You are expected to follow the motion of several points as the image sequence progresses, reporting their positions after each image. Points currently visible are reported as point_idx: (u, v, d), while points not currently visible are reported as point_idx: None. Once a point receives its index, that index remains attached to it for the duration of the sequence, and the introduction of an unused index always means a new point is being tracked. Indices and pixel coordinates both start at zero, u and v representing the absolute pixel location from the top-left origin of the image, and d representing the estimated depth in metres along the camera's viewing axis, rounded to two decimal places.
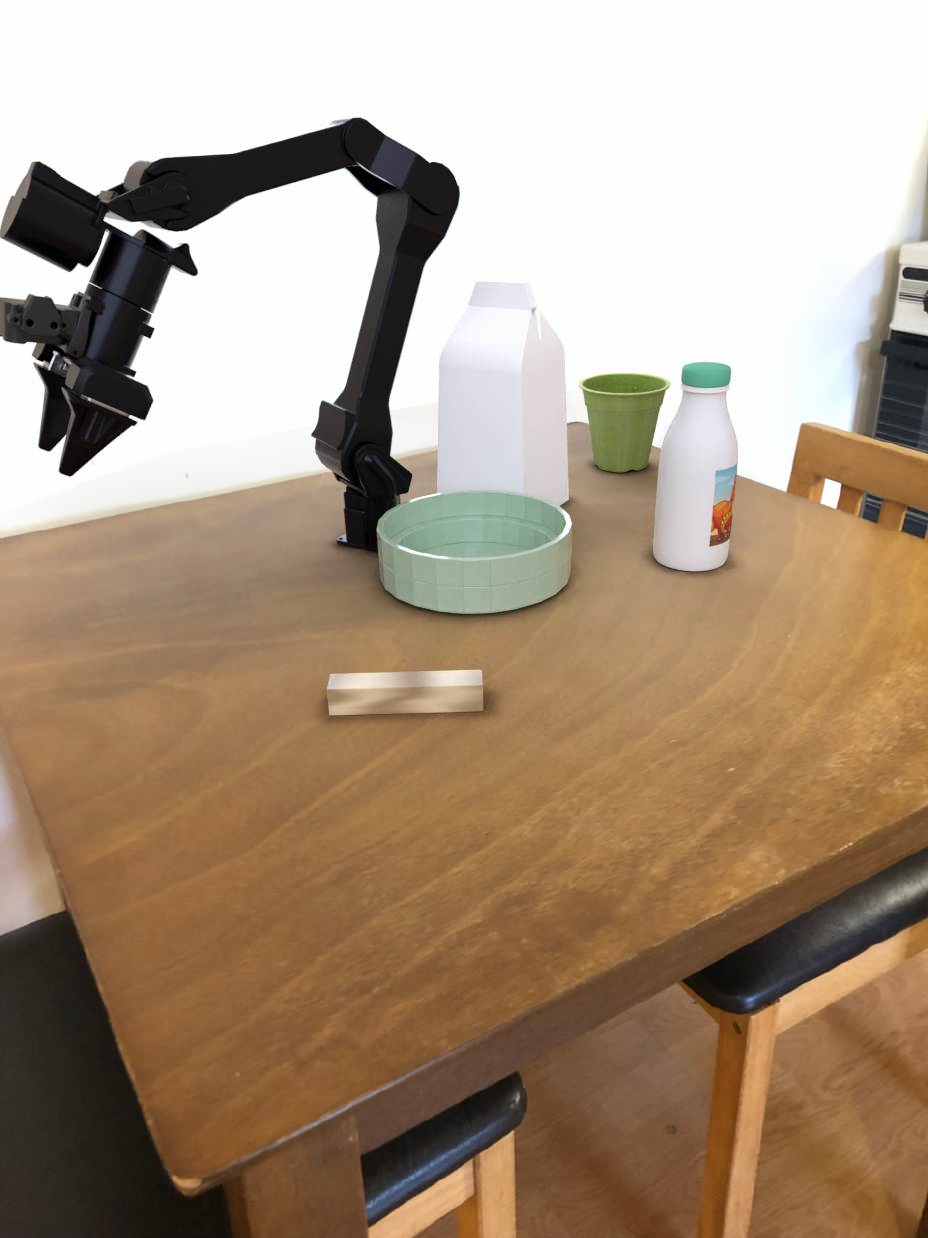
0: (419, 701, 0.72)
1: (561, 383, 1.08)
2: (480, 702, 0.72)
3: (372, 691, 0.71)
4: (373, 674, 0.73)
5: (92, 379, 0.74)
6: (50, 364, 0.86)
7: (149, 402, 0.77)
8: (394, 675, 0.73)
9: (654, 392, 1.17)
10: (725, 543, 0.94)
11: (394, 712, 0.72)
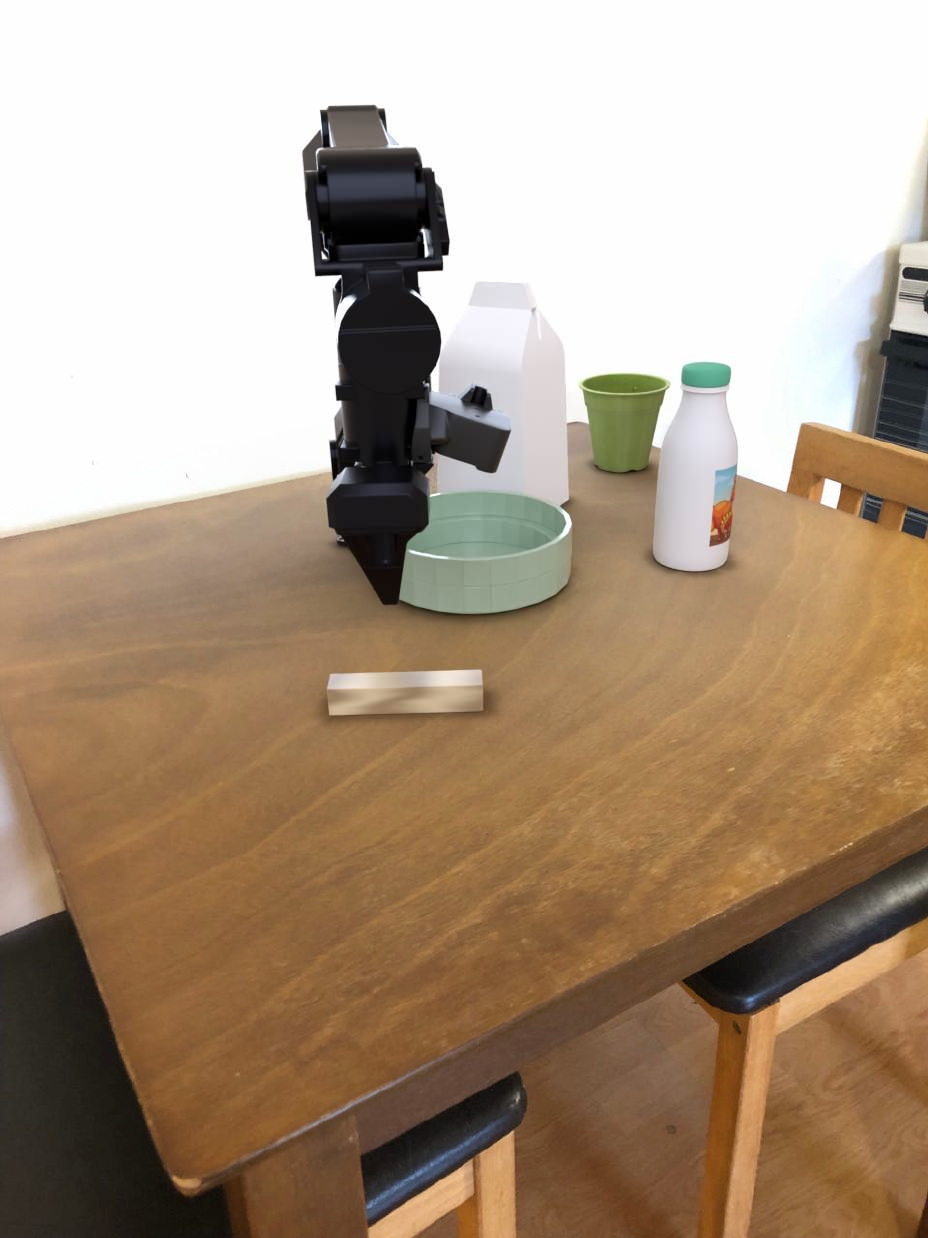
0: (419, 701, 0.72)
1: (561, 383, 1.08)
2: (480, 702, 0.72)
3: (372, 691, 0.71)
4: (373, 674, 0.73)
5: None
6: None
7: None
8: (394, 675, 0.73)
9: (654, 392, 1.17)
10: (725, 543, 0.94)
11: (394, 712, 0.72)
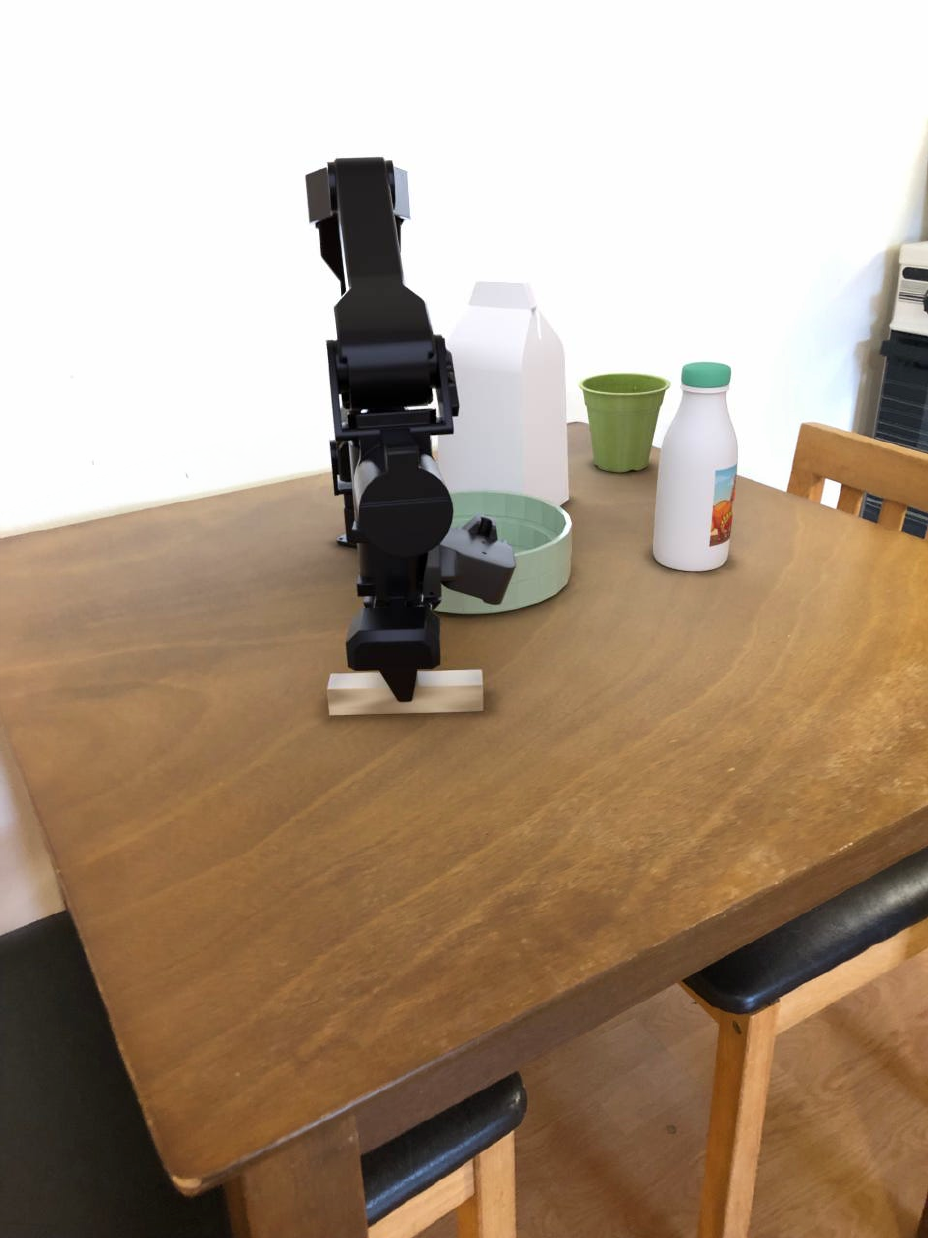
0: (419, 701, 0.72)
1: (561, 383, 1.08)
2: (480, 702, 0.72)
3: (372, 691, 0.71)
4: (373, 674, 0.73)
5: None
6: None
7: None
8: None
9: (654, 392, 1.17)
10: (725, 543, 0.94)
11: (394, 712, 0.72)
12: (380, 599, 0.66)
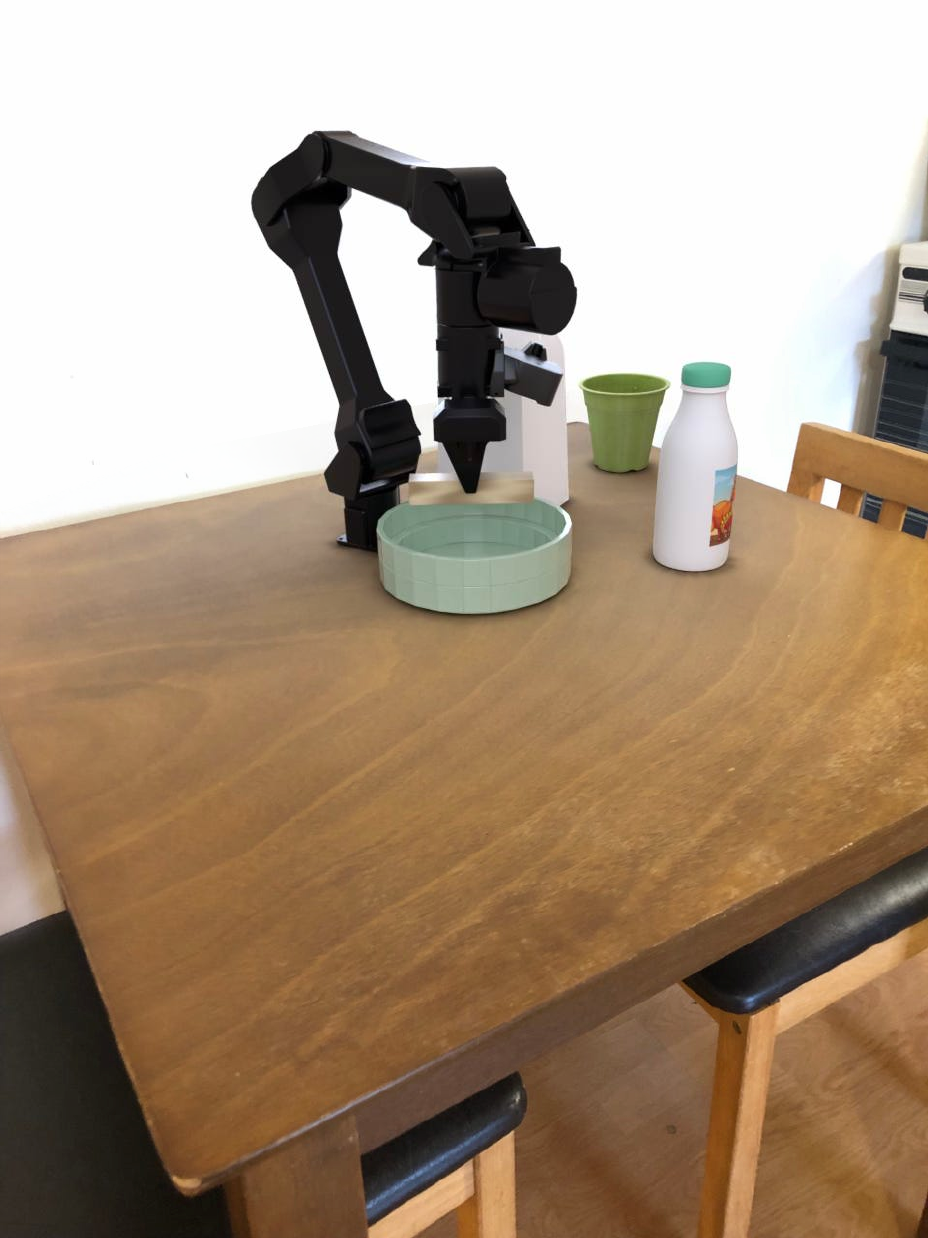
0: (482, 493, 0.89)
1: (561, 383, 1.08)
2: (531, 494, 0.89)
3: (445, 483, 0.89)
4: (444, 473, 0.91)
5: None
6: None
7: None
8: None
9: (654, 392, 1.17)
10: (725, 543, 0.94)
11: (462, 502, 0.90)
12: (455, 399, 0.84)
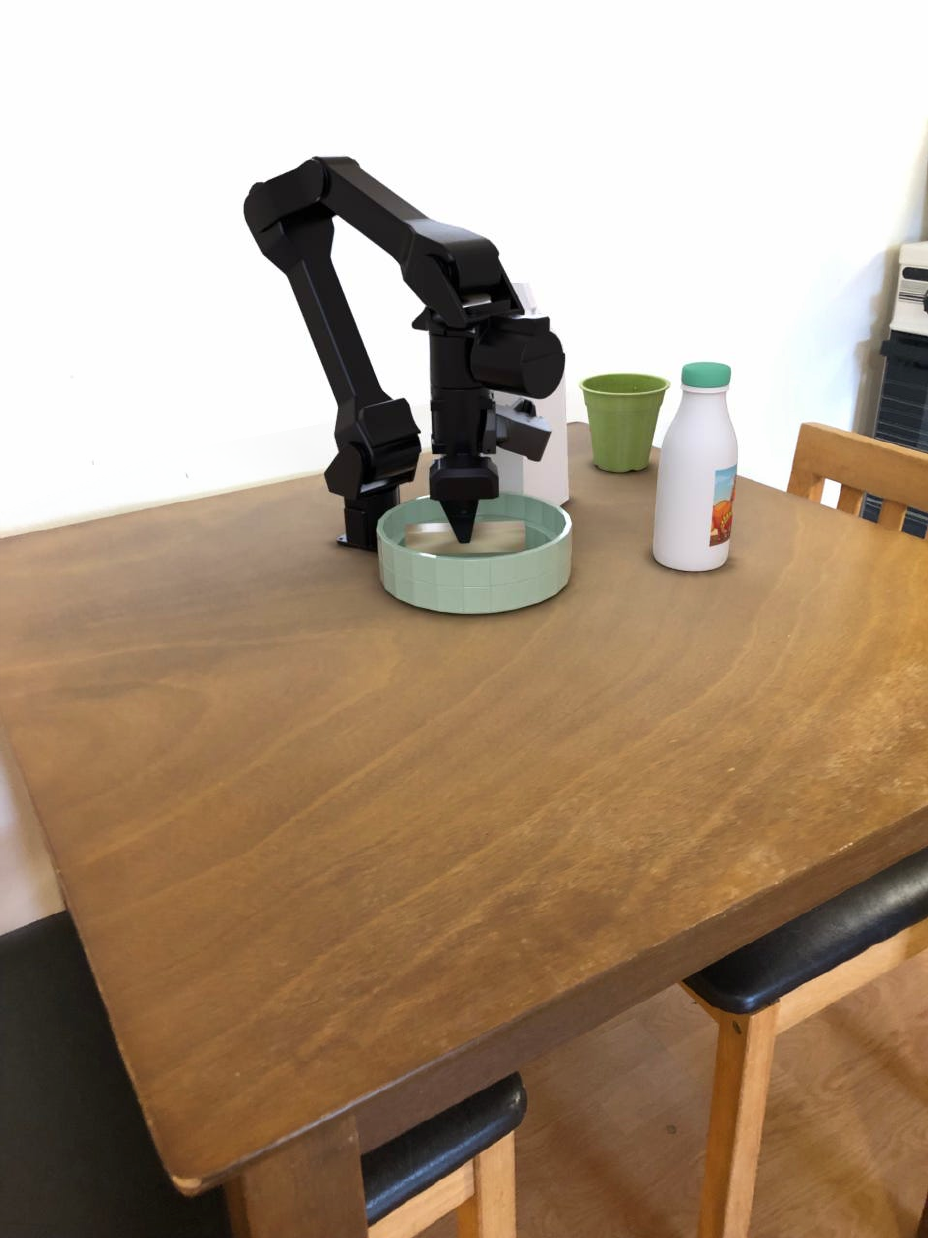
0: (476, 542, 0.93)
1: (561, 383, 1.08)
2: (523, 543, 0.93)
3: (440, 534, 0.93)
4: (439, 524, 0.94)
5: None
6: None
7: None
8: None
9: (654, 392, 1.17)
10: (725, 543, 0.94)
11: (456, 552, 0.94)
12: (449, 456, 0.88)
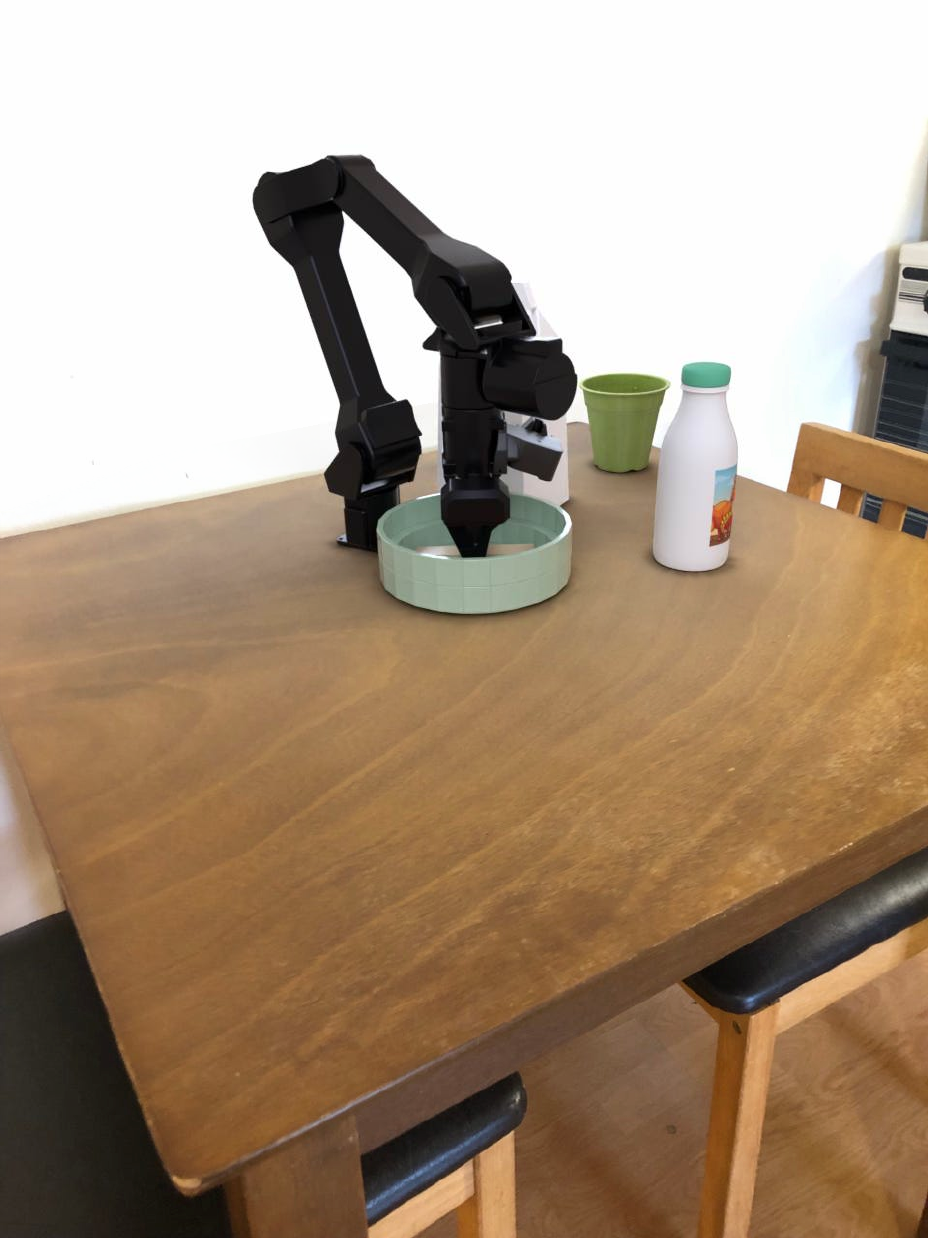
0: None
1: None
2: None
3: None
4: (449, 546, 0.95)
5: None
6: None
7: None
8: None
9: (654, 392, 1.17)
10: (725, 543, 0.94)
11: None
12: (460, 476, 0.88)
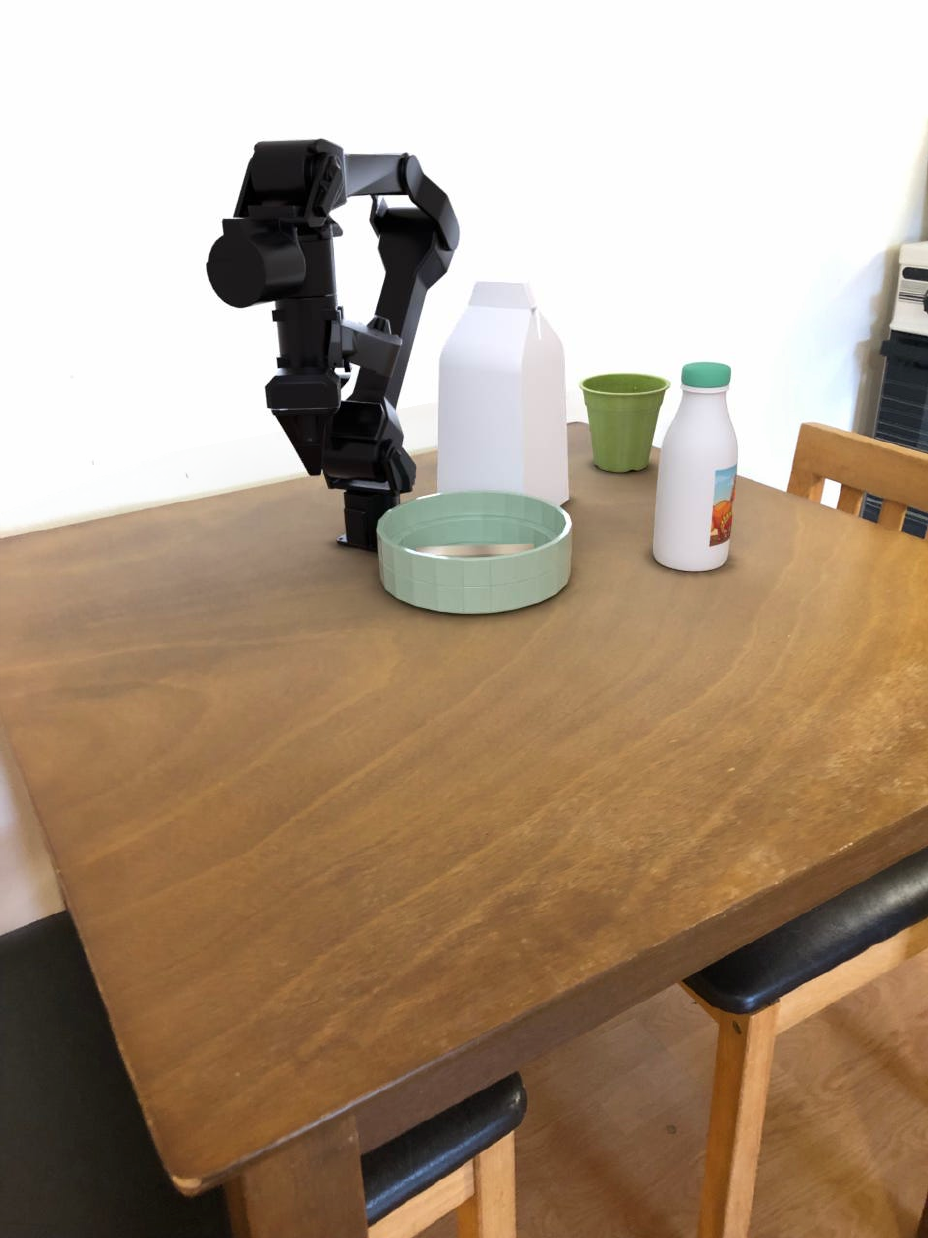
0: None
1: (561, 383, 1.08)
2: None
3: None
4: (449, 546, 0.95)
5: None
6: None
7: None
8: (466, 547, 0.94)
9: (654, 392, 1.17)
10: (725, 543, 0.94)
11: None
12: None
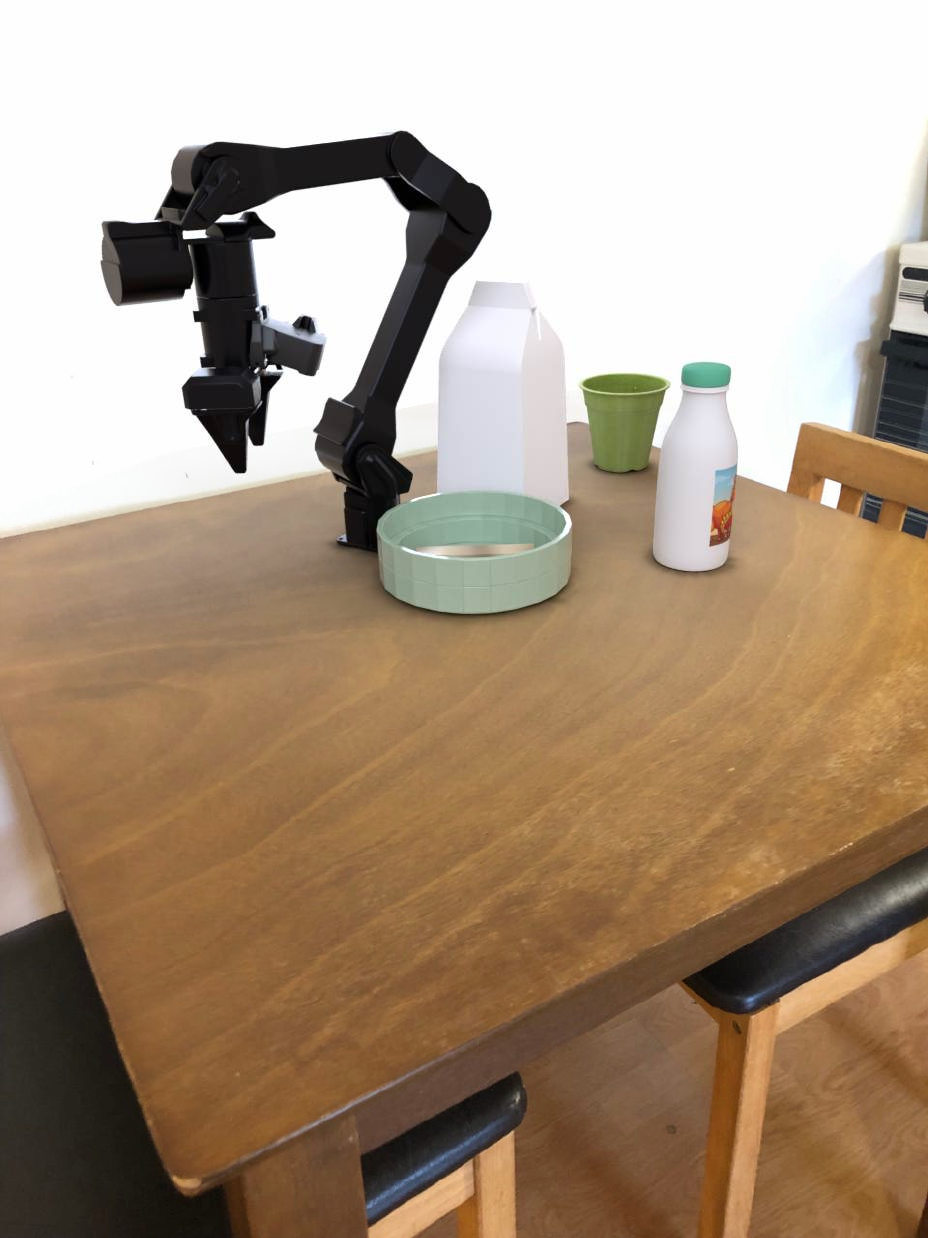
0: None
1: (561, 383, 1.08)
2: None
3: None
4: (449, 546, 0.95)
5: None
6: None
7: None
8: (466, 547, 0.94)
9: (654, 392, 1.17)
10: (725, 543, 0.94)
11: None
12: None
